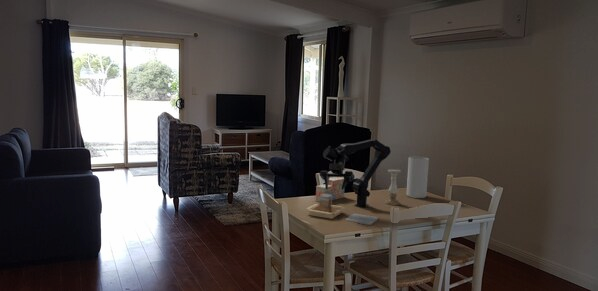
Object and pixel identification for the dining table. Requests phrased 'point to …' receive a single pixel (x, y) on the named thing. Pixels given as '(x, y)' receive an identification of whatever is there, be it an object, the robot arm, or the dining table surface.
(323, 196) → the grey rectangular block
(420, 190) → the cylinder vase
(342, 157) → the robot arm
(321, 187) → the stack of blocks
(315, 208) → the carton
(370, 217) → the rubber mat
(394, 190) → the candle holder
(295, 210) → the dining table surface
